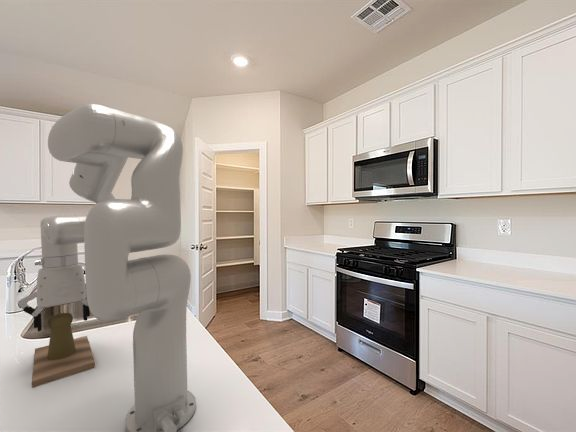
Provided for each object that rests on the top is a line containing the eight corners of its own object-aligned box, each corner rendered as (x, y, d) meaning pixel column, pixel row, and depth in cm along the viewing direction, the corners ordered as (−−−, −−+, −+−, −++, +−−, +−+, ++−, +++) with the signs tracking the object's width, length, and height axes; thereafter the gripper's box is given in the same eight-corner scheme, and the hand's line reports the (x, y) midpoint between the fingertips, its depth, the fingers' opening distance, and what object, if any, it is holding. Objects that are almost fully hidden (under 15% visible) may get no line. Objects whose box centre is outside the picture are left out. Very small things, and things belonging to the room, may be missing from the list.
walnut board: (95, 367, 71) (94, 361, 71) (31, 387, 63) (31, 381, 63) (87, 340, 86) (86, 335, 86) (35, 353, 79) (35, 348, 79)
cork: (59, 361, 72) (57, 319, 72) (41, 358, 73) (39, 317, 73) (81, 349, 78) (80, 311, 77) (64, 347, 79) (63, 309, 79)
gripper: (14, 268, 66) (18, 339, 67) (100, 259, 78) (103, 319, 78) (17, 265, 72) (20, 329, 72) (97, 256, 83) (99, 312, 84)
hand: (63, 324), depth 75 cm, fingers open, 9 cm apart
